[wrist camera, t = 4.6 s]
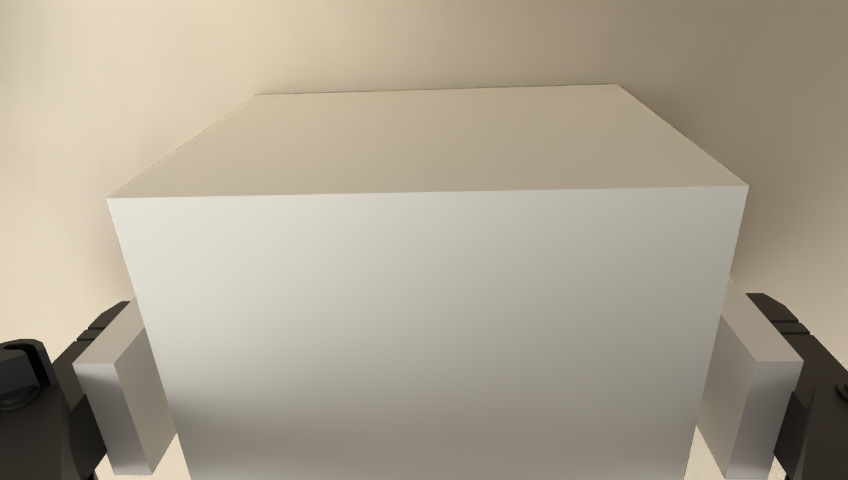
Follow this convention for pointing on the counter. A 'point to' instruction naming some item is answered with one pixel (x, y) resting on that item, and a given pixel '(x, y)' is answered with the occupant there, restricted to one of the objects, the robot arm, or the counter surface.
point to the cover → (434, 285)
